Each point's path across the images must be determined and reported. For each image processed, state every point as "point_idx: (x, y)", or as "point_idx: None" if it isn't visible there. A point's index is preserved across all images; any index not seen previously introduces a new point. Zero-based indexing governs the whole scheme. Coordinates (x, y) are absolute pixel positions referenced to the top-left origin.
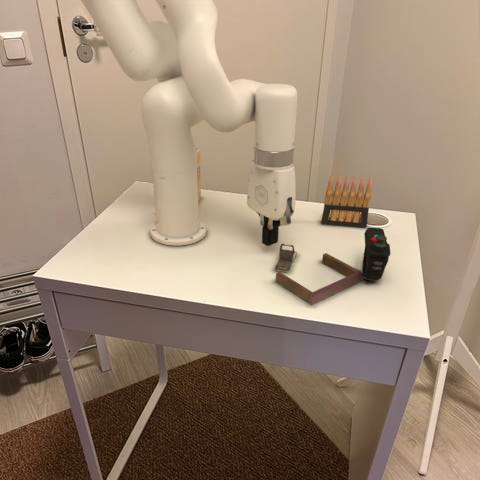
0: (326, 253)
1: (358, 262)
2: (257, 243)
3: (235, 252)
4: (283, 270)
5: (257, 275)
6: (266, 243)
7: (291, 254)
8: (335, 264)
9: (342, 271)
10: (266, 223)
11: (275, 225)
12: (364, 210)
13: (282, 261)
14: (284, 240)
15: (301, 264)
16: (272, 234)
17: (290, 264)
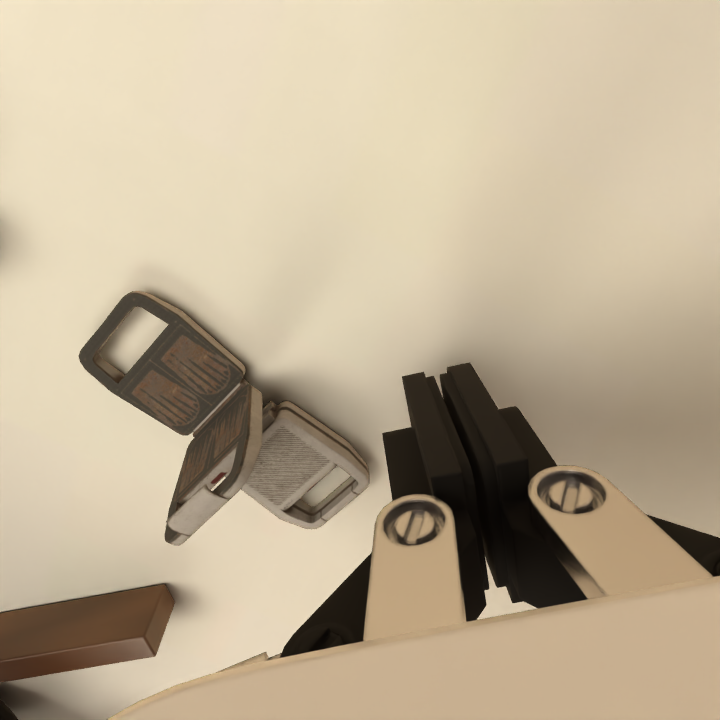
0: (148, 655)
1: (119, 710)
2: (591, 366)
3: (570, 118)
4: (92, 336)
5: (105, 106)
6: (408, 384)
7: (186, 477)
8: (44, 634)
9: (2, 625)
10: (523, 530)
11: (346, 593)
12: None
13: (229, 392)
14: None
15: None
16: (390, 483)
17: (167, 420)
